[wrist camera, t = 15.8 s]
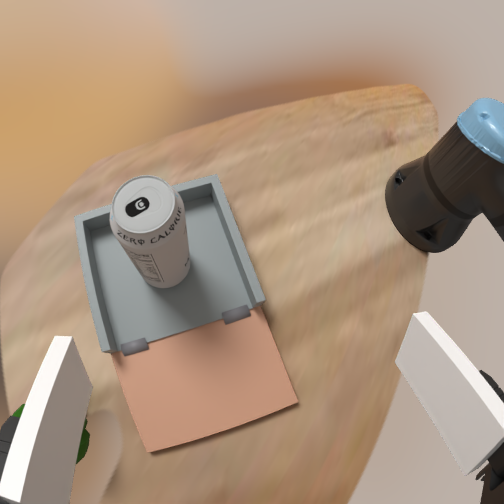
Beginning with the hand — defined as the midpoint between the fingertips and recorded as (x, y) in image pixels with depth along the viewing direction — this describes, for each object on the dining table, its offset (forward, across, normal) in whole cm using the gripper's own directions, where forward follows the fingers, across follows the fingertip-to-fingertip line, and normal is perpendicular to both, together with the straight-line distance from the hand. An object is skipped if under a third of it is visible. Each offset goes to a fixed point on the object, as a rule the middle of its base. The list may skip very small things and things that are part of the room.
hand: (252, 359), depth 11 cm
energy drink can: (+25, -6, -9) cm, 27 cm away
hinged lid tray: (+22, -5, -14) cm, 26 cm away
